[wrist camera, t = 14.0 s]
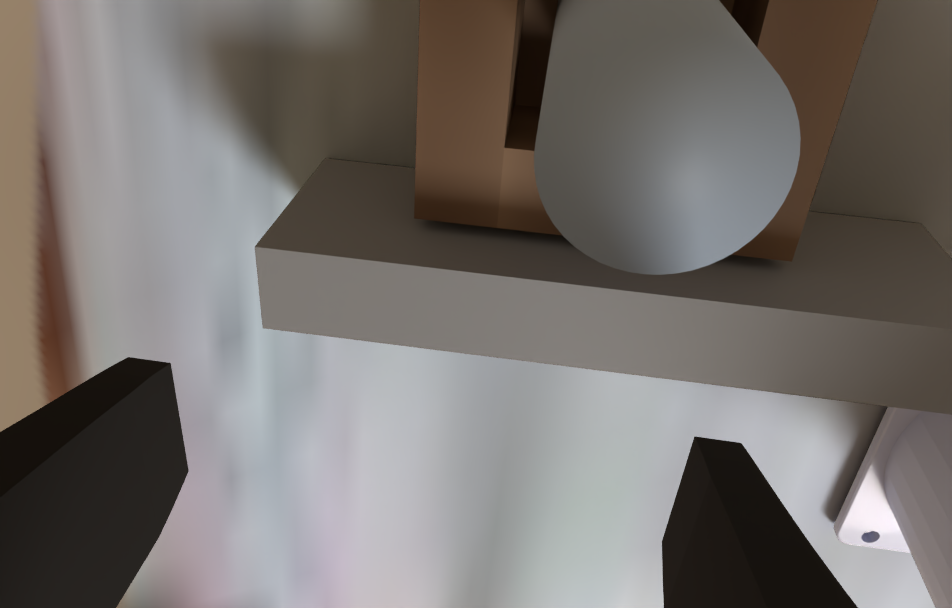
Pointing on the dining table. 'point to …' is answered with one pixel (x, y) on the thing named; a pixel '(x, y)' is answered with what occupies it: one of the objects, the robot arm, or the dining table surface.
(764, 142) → the dowel
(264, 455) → the dining table surface
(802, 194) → the socket block
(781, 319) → the block
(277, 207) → the dining table surface
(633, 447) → the dining table surface
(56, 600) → the robot arm
